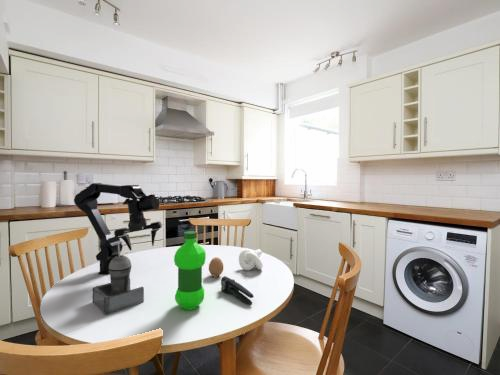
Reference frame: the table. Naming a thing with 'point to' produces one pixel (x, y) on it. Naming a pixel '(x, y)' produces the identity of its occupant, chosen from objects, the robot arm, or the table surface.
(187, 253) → the plastic bottle
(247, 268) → the white rounded lump
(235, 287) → the can opener
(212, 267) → the egg
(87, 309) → the table surface
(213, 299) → the table surface
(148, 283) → the table surface
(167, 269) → the table surface
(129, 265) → the beverage cup
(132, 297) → the box
